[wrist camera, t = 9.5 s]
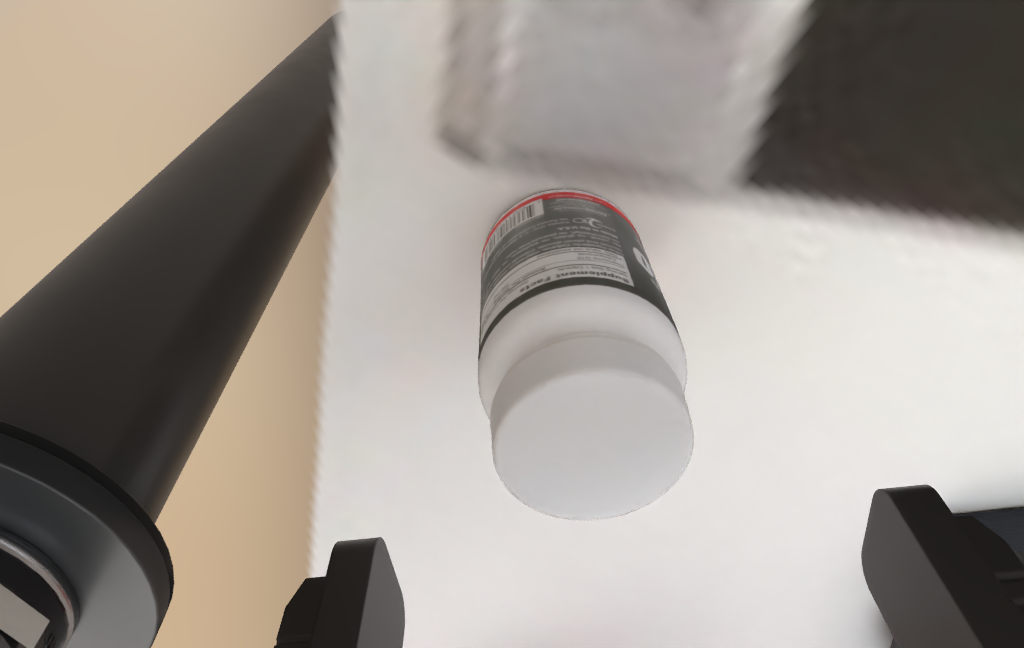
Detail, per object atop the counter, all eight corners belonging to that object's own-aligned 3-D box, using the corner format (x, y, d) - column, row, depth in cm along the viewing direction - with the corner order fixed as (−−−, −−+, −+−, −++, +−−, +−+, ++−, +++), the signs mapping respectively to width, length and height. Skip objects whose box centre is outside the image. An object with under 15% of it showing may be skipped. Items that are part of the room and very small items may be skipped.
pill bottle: (637, 322, 22) (706, 530, 15) (487, 331, 22) (486, 543, 15) (644, 178, 20) (729, 348, 13) (474, 189, 20) (465, 364, 13)
